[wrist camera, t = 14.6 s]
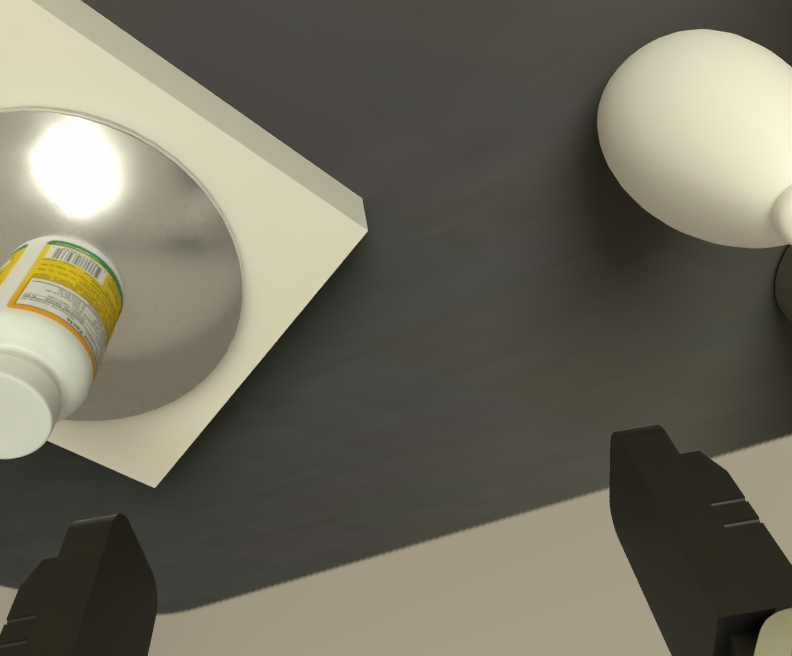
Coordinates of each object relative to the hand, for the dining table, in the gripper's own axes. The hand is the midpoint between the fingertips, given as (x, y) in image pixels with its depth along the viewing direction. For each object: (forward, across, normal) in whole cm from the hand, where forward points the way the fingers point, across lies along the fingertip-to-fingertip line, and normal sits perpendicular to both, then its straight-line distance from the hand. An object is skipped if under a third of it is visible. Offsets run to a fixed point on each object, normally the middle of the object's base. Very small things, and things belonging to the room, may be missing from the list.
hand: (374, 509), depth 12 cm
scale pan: (+24, +14, +5) cm, 28 cm away
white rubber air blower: (+28, -15, +3) cm, 33 cm away
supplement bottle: (+23, +14, +6) cm, 27 cm away
